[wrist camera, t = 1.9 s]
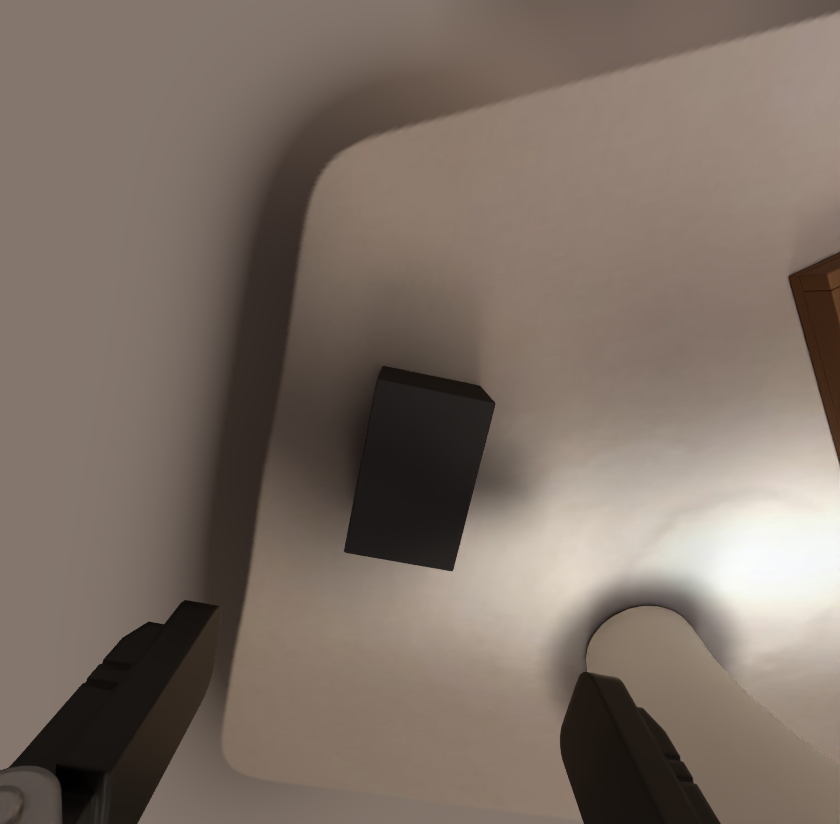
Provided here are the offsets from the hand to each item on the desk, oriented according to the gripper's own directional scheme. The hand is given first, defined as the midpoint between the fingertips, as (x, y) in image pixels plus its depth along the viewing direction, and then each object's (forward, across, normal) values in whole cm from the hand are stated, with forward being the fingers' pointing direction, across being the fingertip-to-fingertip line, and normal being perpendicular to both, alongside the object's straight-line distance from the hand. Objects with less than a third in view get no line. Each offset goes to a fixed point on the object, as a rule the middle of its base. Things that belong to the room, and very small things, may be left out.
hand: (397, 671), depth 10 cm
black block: (+14, 0, -1) cm, 14 cm away
